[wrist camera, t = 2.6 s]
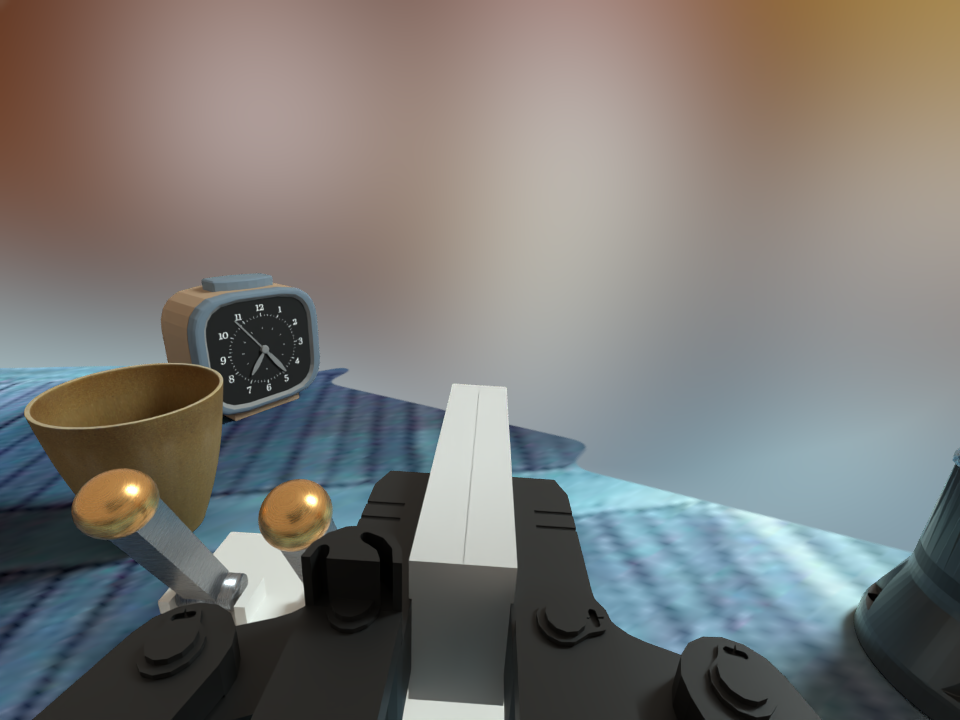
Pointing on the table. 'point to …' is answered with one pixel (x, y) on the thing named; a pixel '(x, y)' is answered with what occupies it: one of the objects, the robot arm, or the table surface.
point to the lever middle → (295, 518)
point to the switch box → (283, 593)
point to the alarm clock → (246, 339)
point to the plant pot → (137, 429)
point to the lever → (154, 537)
